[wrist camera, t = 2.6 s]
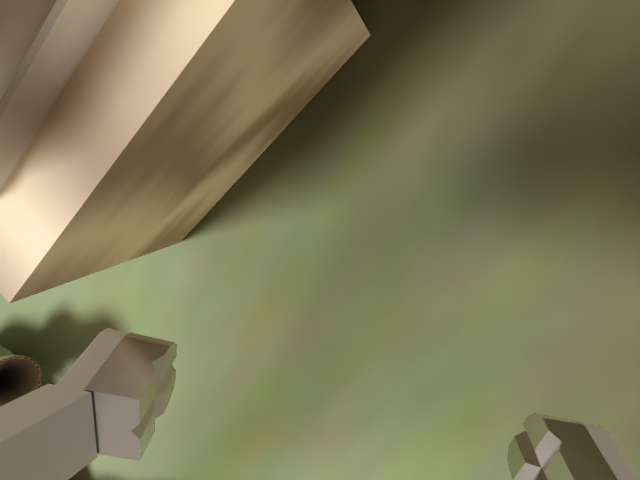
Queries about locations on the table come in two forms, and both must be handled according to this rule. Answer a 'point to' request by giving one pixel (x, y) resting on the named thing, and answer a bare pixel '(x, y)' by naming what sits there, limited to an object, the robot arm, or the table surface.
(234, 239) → the table surface
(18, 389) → the stretcher
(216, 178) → the tan stepped block
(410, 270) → the table surface
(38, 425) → the robot arm
